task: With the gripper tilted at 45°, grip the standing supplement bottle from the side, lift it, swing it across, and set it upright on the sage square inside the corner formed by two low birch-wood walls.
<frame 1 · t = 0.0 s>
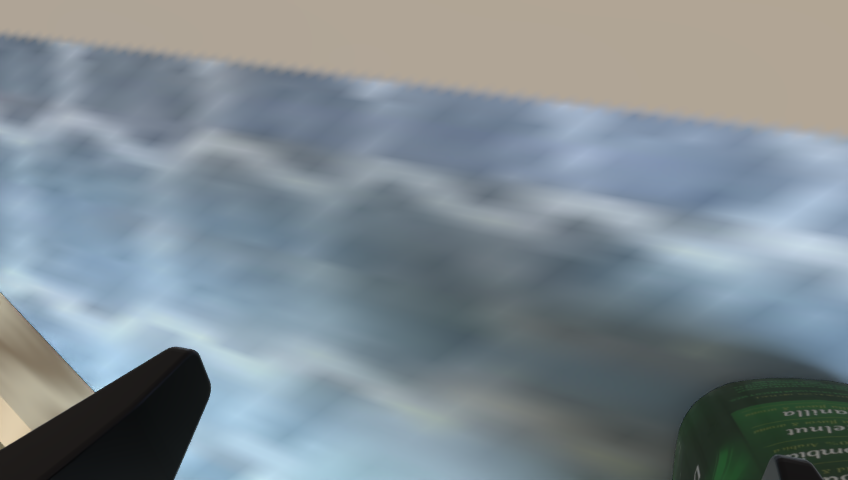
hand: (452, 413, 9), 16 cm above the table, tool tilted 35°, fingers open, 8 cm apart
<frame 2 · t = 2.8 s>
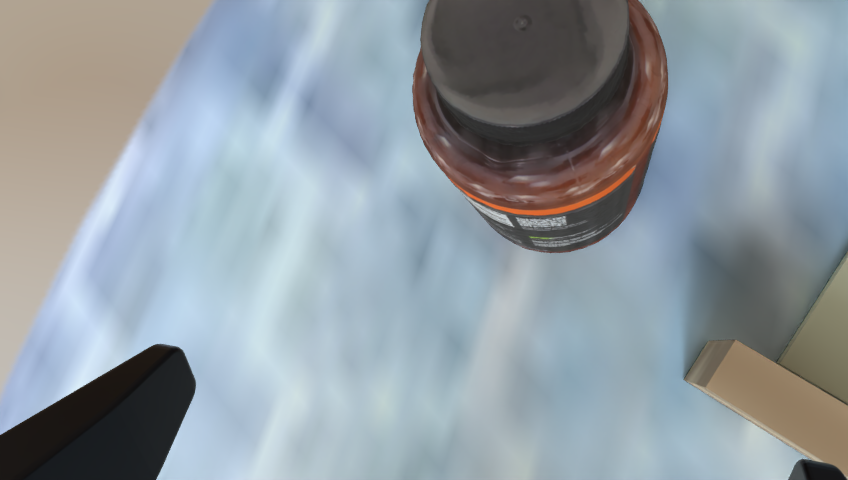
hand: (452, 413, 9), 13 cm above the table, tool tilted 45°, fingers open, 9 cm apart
supplement bottle: (554, 175, 23), on the table
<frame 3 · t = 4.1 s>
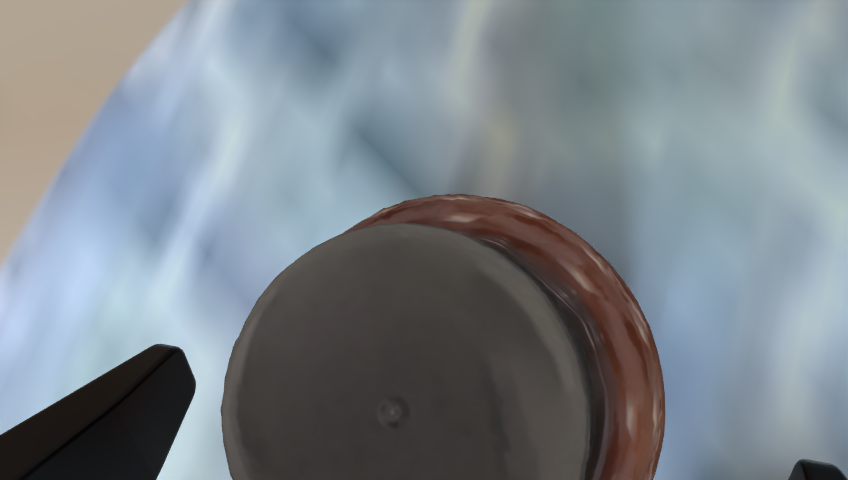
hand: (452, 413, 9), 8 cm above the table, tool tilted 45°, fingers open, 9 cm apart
supplement bottle: (516, 371, 17), on the table
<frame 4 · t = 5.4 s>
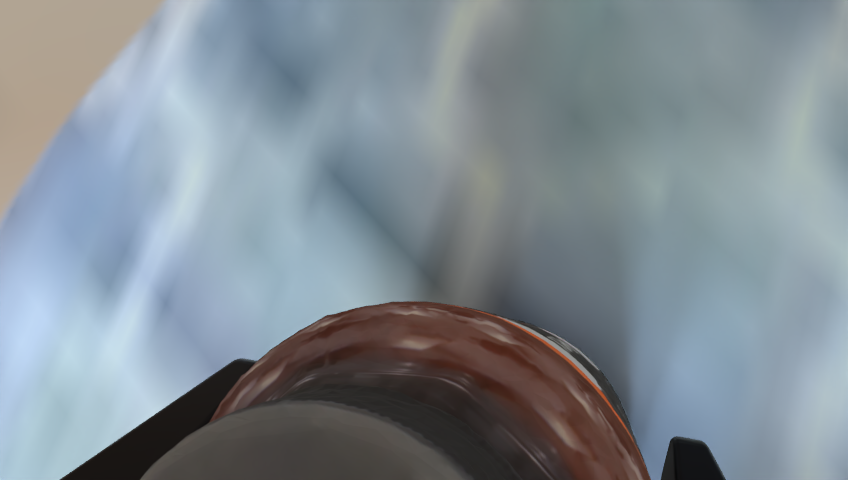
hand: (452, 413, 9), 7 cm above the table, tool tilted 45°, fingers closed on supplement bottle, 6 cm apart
supplement bottle: (501, 443, 16), on the table, touching gripper
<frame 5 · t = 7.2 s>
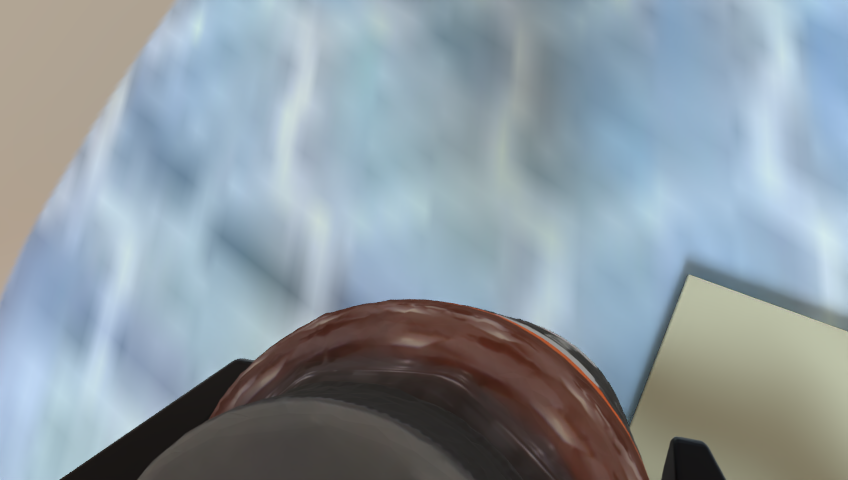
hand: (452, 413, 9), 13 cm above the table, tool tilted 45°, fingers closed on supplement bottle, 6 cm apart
supplement bottle: (500, 441, 16), point 6 cm above the table, touching gripper
when the fingers open (8 cm above the table, at t = 9.3 s): supplement bottle stays where it is, resting on arena.
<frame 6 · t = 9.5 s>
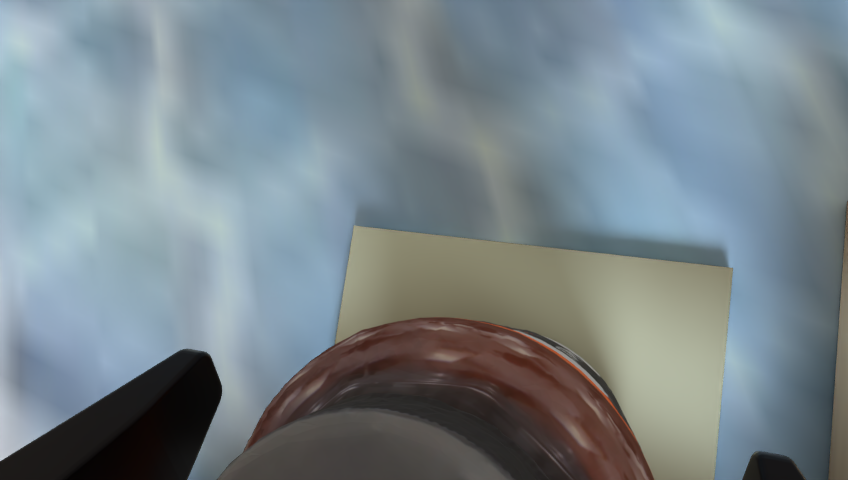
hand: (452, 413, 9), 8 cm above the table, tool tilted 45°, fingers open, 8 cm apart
supplement bottle: (507, 444, 17), resting on arena
arena: (506, 434, 17), on the table
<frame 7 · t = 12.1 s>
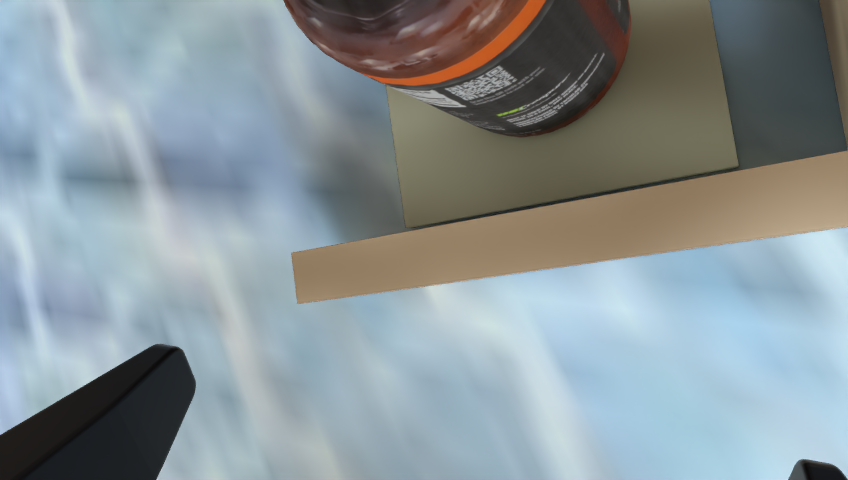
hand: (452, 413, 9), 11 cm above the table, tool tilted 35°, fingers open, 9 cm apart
supplement bottle: (533, 45, 20), resting on arena
arena: (532, 41, 20), on the table
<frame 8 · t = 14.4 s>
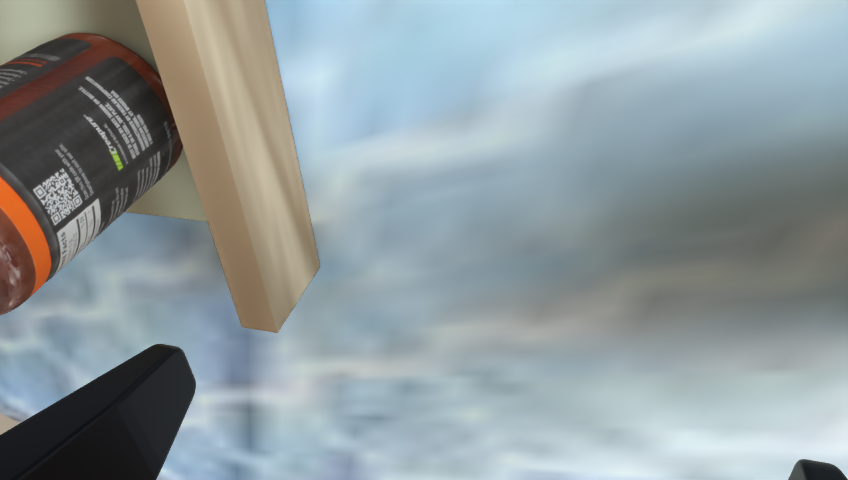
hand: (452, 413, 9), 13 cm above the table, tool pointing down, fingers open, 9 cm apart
supplement bottle: (123, 102, 24), resting on arena
arena: (123, 102, 25), on the table
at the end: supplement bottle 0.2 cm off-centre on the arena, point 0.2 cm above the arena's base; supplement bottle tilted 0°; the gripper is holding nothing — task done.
